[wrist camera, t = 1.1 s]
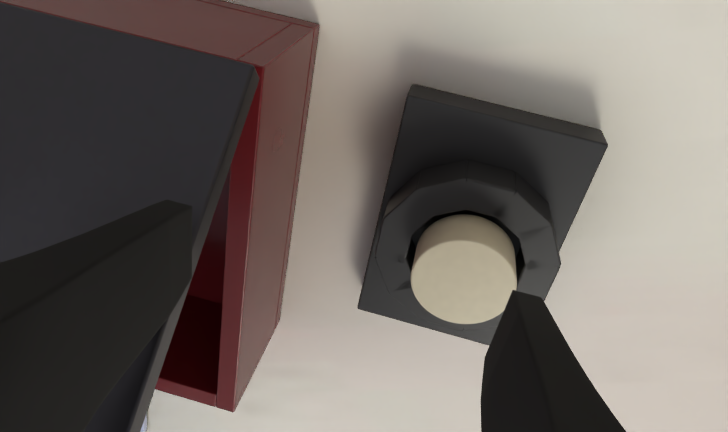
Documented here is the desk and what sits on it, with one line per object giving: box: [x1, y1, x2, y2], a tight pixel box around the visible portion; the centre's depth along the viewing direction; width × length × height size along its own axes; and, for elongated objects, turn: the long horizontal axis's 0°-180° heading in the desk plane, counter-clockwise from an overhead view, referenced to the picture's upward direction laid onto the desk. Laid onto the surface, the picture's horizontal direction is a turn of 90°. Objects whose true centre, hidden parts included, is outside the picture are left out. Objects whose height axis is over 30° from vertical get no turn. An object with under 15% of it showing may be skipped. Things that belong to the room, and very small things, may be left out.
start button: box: [411, 214, 517, 324], centre depth 20 cm, size 4×4×2 cm
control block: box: [358, 84, 608, 345], centre depth 21 cm, size 10×7×3 cm
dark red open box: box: [0, 0, 319, 412], centre depth 22 cm, size 15×13×6 cm
